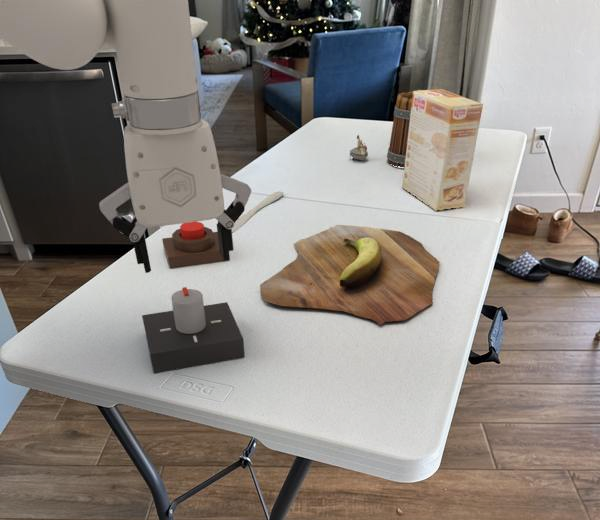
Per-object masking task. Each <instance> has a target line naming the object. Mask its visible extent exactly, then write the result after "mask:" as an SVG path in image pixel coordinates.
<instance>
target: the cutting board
mask: <svg viewBox="0 0 600 520" xmlns="http://www.w3.org/2000/svg"><path fill="white" fill-rule="evenodd" d="M293 245H294V248H295V250H296V252H297V256H296V259H294V260H293V261H291V262H290V263H288V264H287V265H286V266H284V268H282V269H281V270H279V271H278V272H276V273H275V274H274V275H272V276H271V277H269V278H268V279H266V280H265V281H264V282H262V283H260V285H259V289H260V296H261V298H262V299H263V300H264V301H265V302H266V303H269V304H274V305H277V306H281V307H291V308H292V307H293V308H307V309H321V310H331V311H337V312H338V311H339V312H345V313H348V314H351V315H354V316H357V317H359V318H363V319H370V320H372V321H373V322H376V323H377V324H378V325H380V326H381V325H382V324H384V323H389V322H399V321H406V320H408V319H410V318H411V317H413V316H414V315H416V314H417V313H419V312H420V311H422V310H423V309H425V308H426V307H427V308H428V307H429V306H430V305H432V304H434V302H433V290H434V286H435V281H436V278H437V275H438V273H439V270H440V264H441V263H440V262H441V261H440V260H438V259H437V258H436V257H435V256H434V255H432V253H430V252H429V251H428V250H427V249H426V248H425V246H424V245H423V244H422V242H421V241H418V240H417V239H415V238H414V237H412V236H410V235H408V234H406V233H405V232H402V231H399V230H392V229H386V228H379V227H369V226H359V225H343V224H336V225H334V226H332V227H330V228H327V229H325V230H322V231H319V232H318V233H316V234H313V235H310V236H308V237H306V238H305V237H304V238H301V239H299V240H297V241H296V242H295V243H293Z"/></svg>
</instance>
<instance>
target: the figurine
mask: <svg viewBox="0 0 600 520" xmlns="http://www.w3.org/2000/svg"><path fill="white" fill-rule="evenodd" d="M356 140H357V146H356V147H354V148H352V149H350V150H349V156H351V157H353V158H354V159H353V160H355V159H357V160H358V161H363V160H366V159H367V157H368V156H369V152H368V147H367V145H366V142H365V141H364V142H363V139H361V138H360V135H359V134H357V135H356Z"/></svg>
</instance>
